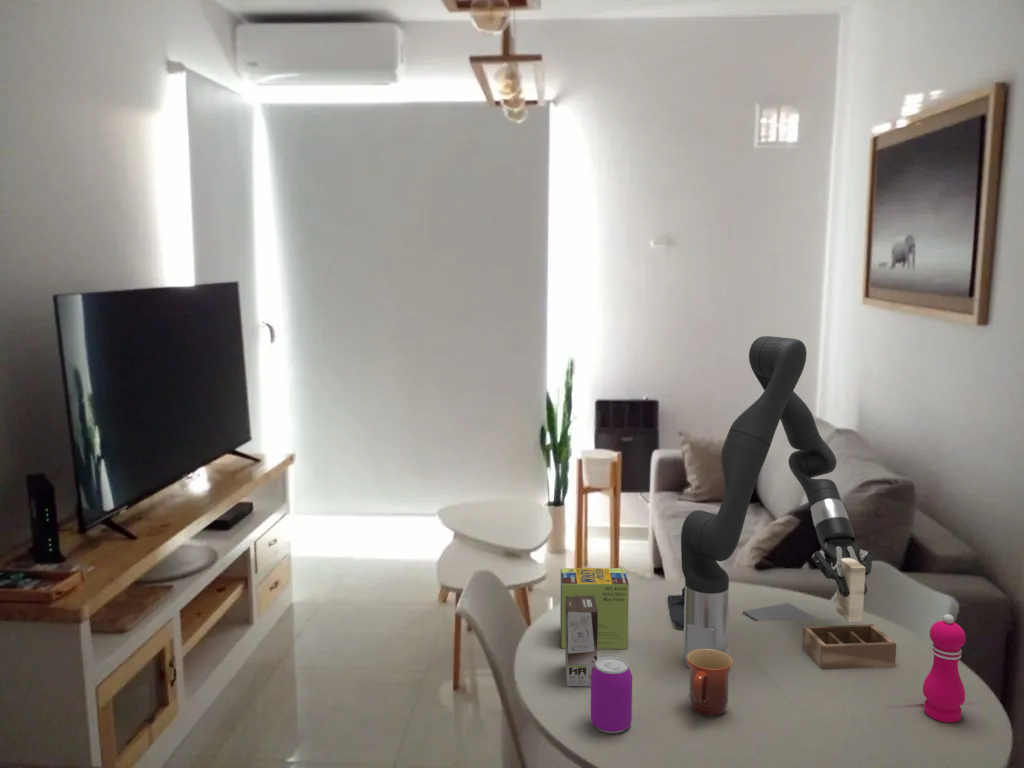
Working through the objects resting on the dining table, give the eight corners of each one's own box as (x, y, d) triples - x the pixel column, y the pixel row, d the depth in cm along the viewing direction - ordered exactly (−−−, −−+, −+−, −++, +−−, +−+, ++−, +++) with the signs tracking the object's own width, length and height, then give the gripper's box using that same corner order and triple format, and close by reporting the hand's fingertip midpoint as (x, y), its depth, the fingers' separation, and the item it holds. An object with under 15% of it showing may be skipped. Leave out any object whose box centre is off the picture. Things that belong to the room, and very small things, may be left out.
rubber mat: (840, 632, 191) (840, 630, 191) (792, 642, 186) (793, 640, 186) (787, 604, 208) (787, 602, 208) (742, 613, 203) (742, 611, 203)
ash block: (835, 610, 179) (838, 558, 178) (849, 610, 179) (852, 557, 178) (848, 621, 173) (851, 567, 172) (862, 621, 173) (865, 567, 172)
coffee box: (598, 687, 167) (598, 612, 165) (566, 686, 167) (566, 612, 165) (594, 666, 176) (594, 594, 174) (564, 666, 176) (564, 594, 174)
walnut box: (802, 651, 182) (803, 626, 181) (871, 648, 183) (872, 624, 182) (822, 672, 172) (823, 646, 171) (894, 669, 173) (896, 644, 172)
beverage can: (582, 725, 152) (582, 664, 151) (606, 709, 158) (606, 650, 156) (616, 740, 147) (616, 678, 146) (639, 723, 153) (640, 663, 151)
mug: (694, 693, 164) (695, 644, 163) (737, 704, 159) (738, 655, 158) (672, 720, 154) (673, 669, 153) (717, 733, 149) (719, 680, 148)
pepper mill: (947, 728, 151) (954, 625, 148) (912, 710, 157) (918, 611, 154) (972, 718, 154) (979, 617, 151) (937, 701, 160) (943, 604, 158)
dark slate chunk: (663, 631, 194) (663, 612, 193) (668, 596, 215) (668, 579, 214) (729, 638, 190) (730, 618, 190) (728, 602, 211) (728, 584, 211)
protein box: (628, 649, 183) (629, 583, 181) (560, 649, 184) (560, 583, 182) (624, 629, 194) (624, 567, 192) (559, 629, 194) (559, 567, 192)
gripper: (807, 516, 181) (829, 589, 170) (868, 514, 182) (894, 587, 171) (796, 531, 187) (817, 603, 176) (855, 530, 187) (879, 601, 177)
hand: (854, 595), depth 174 cm, fingers closed on ash block, 3 cm apart
